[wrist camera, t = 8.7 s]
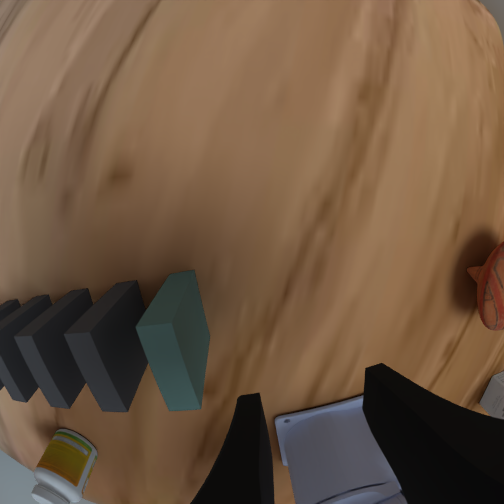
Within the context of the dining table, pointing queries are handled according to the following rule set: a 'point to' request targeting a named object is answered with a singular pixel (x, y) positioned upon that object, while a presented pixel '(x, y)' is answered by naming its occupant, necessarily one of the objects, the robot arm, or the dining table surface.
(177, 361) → the loose domino
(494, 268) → the pot
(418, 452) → the robot arm
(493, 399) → the ink cartridge box
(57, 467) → the supplement bottle
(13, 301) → the domino
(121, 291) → the domino
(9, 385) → the domino
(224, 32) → the dining table surface
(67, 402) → the domino
